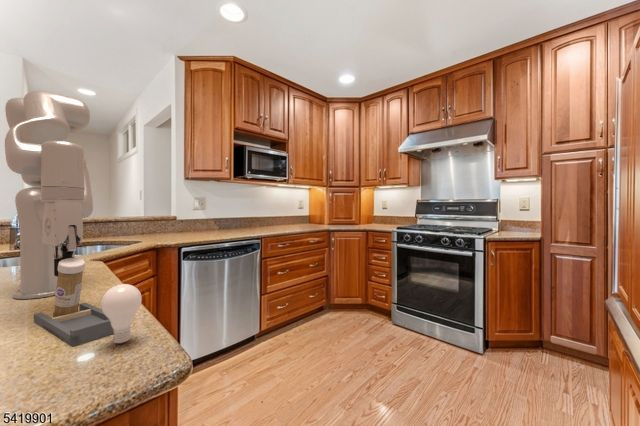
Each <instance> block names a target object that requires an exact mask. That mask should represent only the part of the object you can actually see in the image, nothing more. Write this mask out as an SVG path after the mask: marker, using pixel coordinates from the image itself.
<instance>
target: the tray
mask: <svg viewBox="0 0 640 426" xmlns="http://www.w3.org/2000/svg"><path fill="white" fill-rule="evenodd" d="M33 323H35V324H37V325H38V326H39V327H41V328H43V329H44V330H46V331H47V332H49V333H51V334H53V336H55V337H56V338H58V339H59V340H61V341H63V342H65V343H66V344H68V345H70V346H71V347H75V346H79V345H83V344H85V343H86V344H87V343H89V342H91V341H95V340H98V339H101V338H105V337H107V336H109V335H110V336H111V335H113V334H114V333H113V328H112V326H111V323H110V320H109V319H108V318H107V317H106V316H105V315H104V313H103V312H102V310H101V307H97V306H95V305H92V304H89V303H87V302H82V303H79V307H78V312H75V313H71V314H67V315H63V316H59V317H51V316H49V315H46V314H45V313H43V312H40V311H39V312H36V313H33Z"/></svg>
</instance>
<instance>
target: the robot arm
mask: <svg viewBox="0 0 640 426" xmlns="http://www.w3.org/2000/svg"><path fill="white" fill-rule="evenodd" d="M89 109H90V108H89V107H88V105H87V104H86V103H85V102H84V101H82V100H81V99H79V98H77V97H76V98H75V97H73V96H72V97H71V96H66V95H64V94H63V95H62V94H59V93H58V94H57V93H54V92H51V91H45V90H31V91H28V92H27V93H26V94H25V95H24V97H13V98H10V99H7V102H6V103H5V109H4V110H5V111H4V112H5V118H6V122H7V125H8V127H9V130H8V131H7V132H6V135H5V138H4V153H5V161H6V164H7V168H9V170H10V171H12V173H13V172H14V173H16V174H17V175H21V179H22V181H23V182H24V183H25V184H26V185H28V186H31V187H25V188H23V189H20V190H19V191H18V192H17V193H16V195H15V197H14V198H15V199H14V203H15V208H16V212H17V218H18V224H19V242H20V243H19V249H20V253H19V256H20V257H19V260H20V261H19V262H20V289H19V290H17V291H14V292H13V293H12V298H14V299H17V300H31V299H40V298H46V297H52V296H55V294H56V288H57V280H58V263H59V262H60V261H61V260H63V259H68V258H76V257H75V253H76V251H77V249H78V248H77V245H80V244H82V243H83V240H84V238H83V237H84V224H83V221H84V220H83V219H87V218H89V217H90V216H91V215H92V213H93V211H94V210H93V209H94V201H93V194H92V187H91V179H90V172H89V169H88V167H87V159H86V157H85V150H84V148H83V147H82V146H81V145H80V144H78V143H75V142H70V141H66V139H67V138H68V137H69V136H70V134H77V133H80V132H81V131H83V130H85V128H87V126H88V125H89V123H90V120H91V119H90V118H91V115H90V110H89Z"/></svg>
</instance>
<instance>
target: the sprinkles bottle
mask: <svg viewBox="0 0 640 426" xmlns="http://www.w3.org/2000/svg"><path fill="white" fill-rule="evenodd" d="M85 267H86V261H84V259H81V258H76V257H74V258H68V259H63V260H61V261H60V262H59V263H58V280H57V288H56V294H55V295H54V307H53V313H52V318H54V317H59V316H63V315H67V314H71V313H75V312H79V304H80V301H81V295H82V294H81V293H82V285H83V275H84V271H85Z"/></svg>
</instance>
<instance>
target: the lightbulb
mask: <svg viewBox="0 0 640 426" xmlns="http://www.w3.org/2000/svg"><path fill="white" fill-rule="evenodd" d="M142 298H143V297H142V294H141V291H140V290H139V289H138V288H137V287H136V286H135V285H132V284H129V283H120V284H116V285H114V286H112V287H110V288H108V289H107V290H106V291H105V293H103V296H102V297H101V299H100V309H101V310H102V312H103V313H104V315H105V316H106V317H107V318H108V319H109V320H110V323H111V326H112V328H113V333H114V334H112V335H113V336H112V337H113V343H114V344H118V345H124V344H126V342H128V341H129V340H130V339H131V328H132V327H131V325H132V324H133V320H134V316H135V315H136V313H138V312H137V311H138V310H139V308H140V307H141V305H142V301H143V299H142Z"/></svg>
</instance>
